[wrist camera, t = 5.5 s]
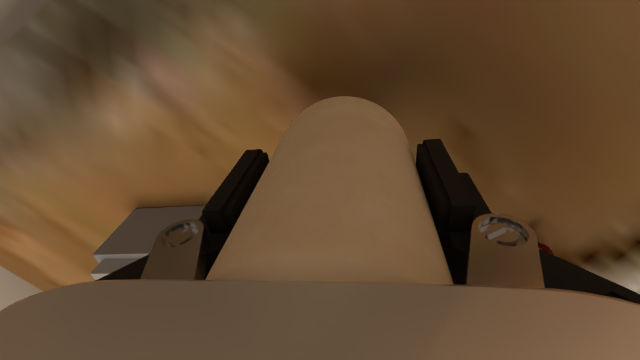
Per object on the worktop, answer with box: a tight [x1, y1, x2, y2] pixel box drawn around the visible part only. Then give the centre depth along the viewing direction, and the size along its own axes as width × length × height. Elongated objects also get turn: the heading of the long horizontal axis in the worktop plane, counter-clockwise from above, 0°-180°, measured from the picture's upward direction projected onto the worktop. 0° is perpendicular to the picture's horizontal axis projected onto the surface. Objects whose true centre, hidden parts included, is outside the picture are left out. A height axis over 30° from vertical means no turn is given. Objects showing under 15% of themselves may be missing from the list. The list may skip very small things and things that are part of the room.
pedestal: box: [91, 205, 206, 280], centre depth 24 cm, size 12×12×6 cm
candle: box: [205, 96, 454, 284], centre depth 9 cm, size 6×6×10 cm
